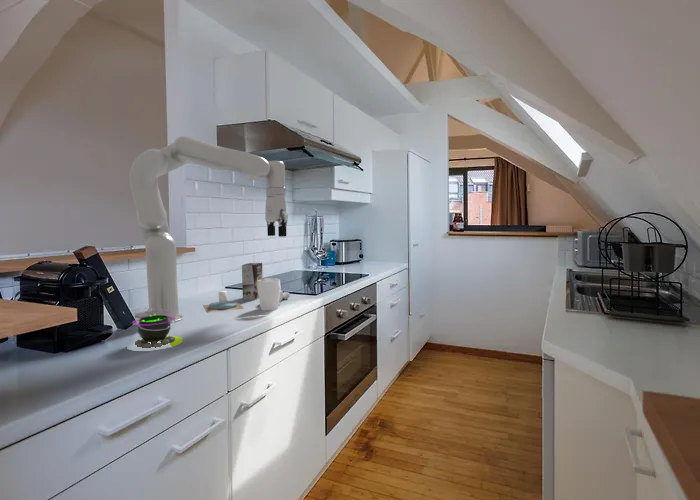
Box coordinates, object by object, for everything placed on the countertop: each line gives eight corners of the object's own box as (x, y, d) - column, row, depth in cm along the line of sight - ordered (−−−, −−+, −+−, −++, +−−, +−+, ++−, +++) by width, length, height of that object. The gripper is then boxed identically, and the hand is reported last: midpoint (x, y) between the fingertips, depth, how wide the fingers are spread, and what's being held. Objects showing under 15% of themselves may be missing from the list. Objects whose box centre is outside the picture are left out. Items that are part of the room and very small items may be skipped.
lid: (210, 310, 157) (210, 295, 156) (207, 305, 167) (206, 290, 166) (239, 307, 162) (239, 292, 161) (234, 302, 171) (234, 288, 171)
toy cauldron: (150, 355, 108) (148, 315, 108) (113, 348, 115) (111, 310, 114) (193, 339, 122) (192, 304, 121) (158, 334, 128) (157, 300, 127)
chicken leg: (297, 301, 181) (291, 283, 183) (279, 301, 164) (273, 282, 166) (281, 307, 183) (275, 290, 184) (262, 308, 165) (256, 289, 167)
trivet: (207, 313, 155) (207, 312, 155) (203, 306, 167) (203, 305, 167) (244, 309, 161) (244, 308, 161) (237, 303, 174) (237, 301, 173)
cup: (276, 312, 155) (275, 282, 154) (254, 312, 157) (253, 281, 156) (284, 307, 164) (283, 278, 163) (263, 307, 166) (262, 278, 165)
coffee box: (256, 301, 177) (255, 264, 176) (242, 301, 178) (241, 264, 177) (263, 297, 186) (262, 262, 185) (250, 297, 187) (249, 262, 186)
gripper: (257, 193, 165) (259, 235, 166) (276, 191, 151) (278, 237, 152) (274, 194, 169) (275, 235, 170) (294, 192, 155) (295, 236, 157)
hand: (276, 236), depth 161 cm, fingers open, 9 cm apart
